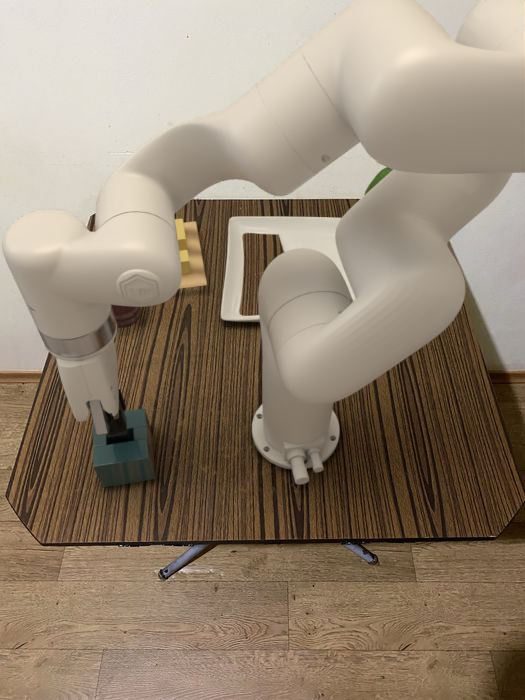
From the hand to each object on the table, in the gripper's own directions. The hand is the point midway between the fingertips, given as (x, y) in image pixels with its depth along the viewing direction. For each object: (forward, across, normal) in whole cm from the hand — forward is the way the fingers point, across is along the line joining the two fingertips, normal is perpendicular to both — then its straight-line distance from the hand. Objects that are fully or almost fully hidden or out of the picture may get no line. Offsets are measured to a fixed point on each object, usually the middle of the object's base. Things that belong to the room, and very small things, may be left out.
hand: (113, 420), depth 73 cm
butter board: (+10, -40, +10) cm, 42 cm away
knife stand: (+10, 0, 0) cm, 10 cm away
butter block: (+8, -43, +10) cm, 45 cm away
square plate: (+10, -31, +32) cm, 46 cm away
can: (+10, -27, 0) cm, 28 cm away
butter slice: (+8, -36, +10) cm, 38 cm away
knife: (+10, 0, 0) cm, 10 cm away
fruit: (+10, -44, +51) cm, 68 cm away
